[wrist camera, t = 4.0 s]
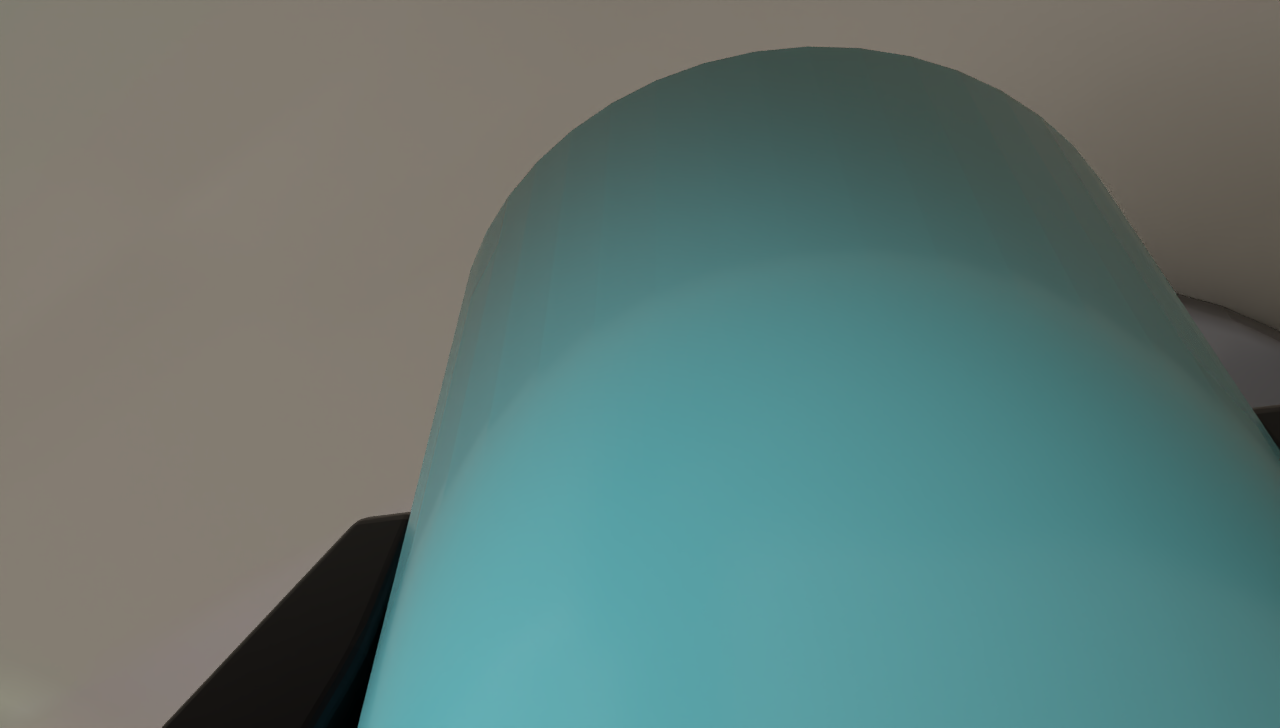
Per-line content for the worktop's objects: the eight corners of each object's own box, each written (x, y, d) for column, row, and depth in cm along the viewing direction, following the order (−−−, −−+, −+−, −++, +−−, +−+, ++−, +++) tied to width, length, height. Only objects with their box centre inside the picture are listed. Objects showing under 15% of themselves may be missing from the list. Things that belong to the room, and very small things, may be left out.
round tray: (1519, 205, 20) (1642, 305, 17) (1344, 856, 30) (1406, 977, 27) (438, 353, 22) (410, 461, 19) (620, 916, 32) (616, 1034, 29)
